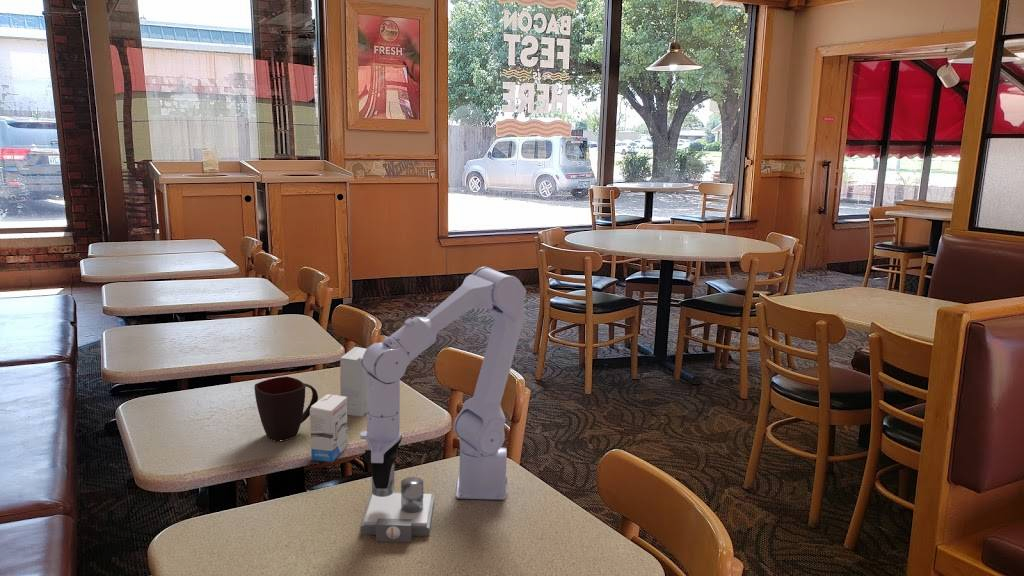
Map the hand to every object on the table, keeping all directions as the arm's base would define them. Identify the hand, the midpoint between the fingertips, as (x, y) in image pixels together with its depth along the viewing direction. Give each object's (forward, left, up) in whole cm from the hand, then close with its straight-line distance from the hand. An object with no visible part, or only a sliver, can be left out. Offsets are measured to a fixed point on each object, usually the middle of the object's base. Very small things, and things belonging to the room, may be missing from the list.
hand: (383, 481), depth 132 cm
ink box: (+15, -25, -8) cm, 30 cm away
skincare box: (+13, -48, -8) cm, 50 cm away
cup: (+26, -34, -8) cm, 44 cm away
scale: (-3, +1, -7) cm, 8 cm away
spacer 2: (-5, 0, -5) cm, 7 cm away
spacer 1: (0, 0, -2) cm, 2 cm away
